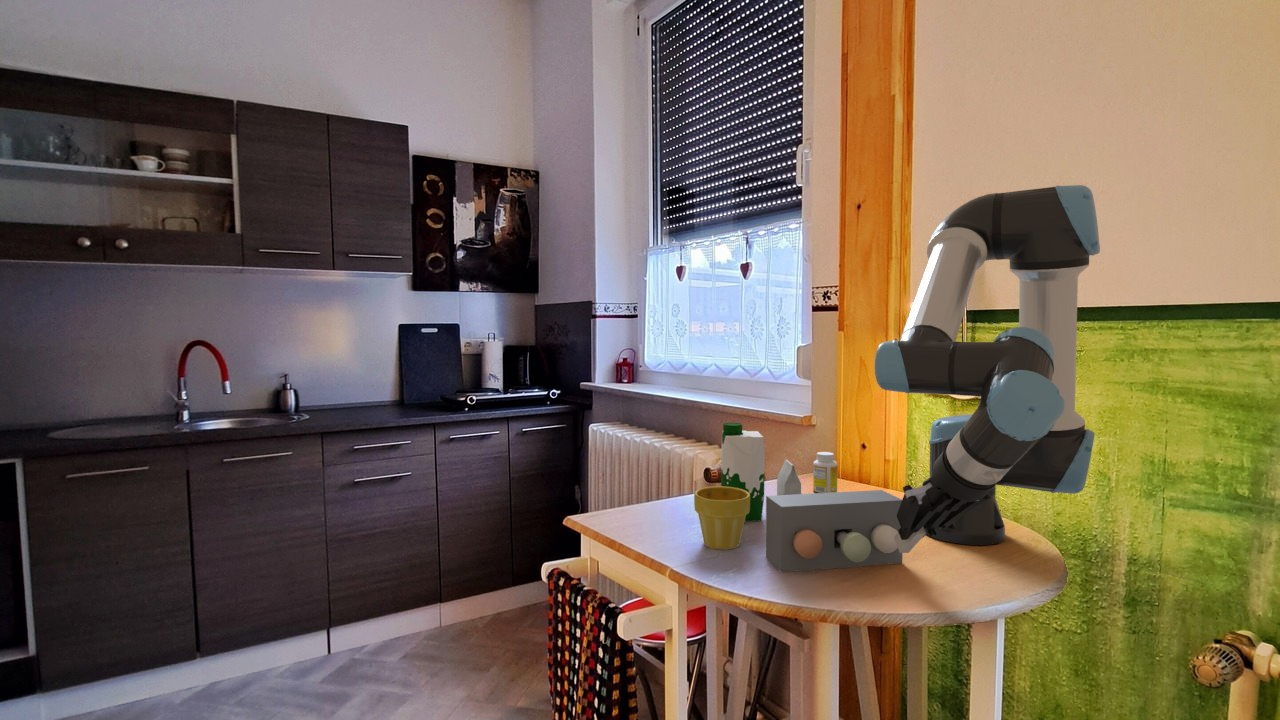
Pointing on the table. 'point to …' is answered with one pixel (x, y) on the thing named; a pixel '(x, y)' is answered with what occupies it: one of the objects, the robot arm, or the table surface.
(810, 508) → the control box
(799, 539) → the terracotta button
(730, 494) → the plant pot
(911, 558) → the table surface
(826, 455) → the supplement bottle
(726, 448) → the milk carton
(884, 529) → the ivory button
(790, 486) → the white gabled block
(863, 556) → the sage button
